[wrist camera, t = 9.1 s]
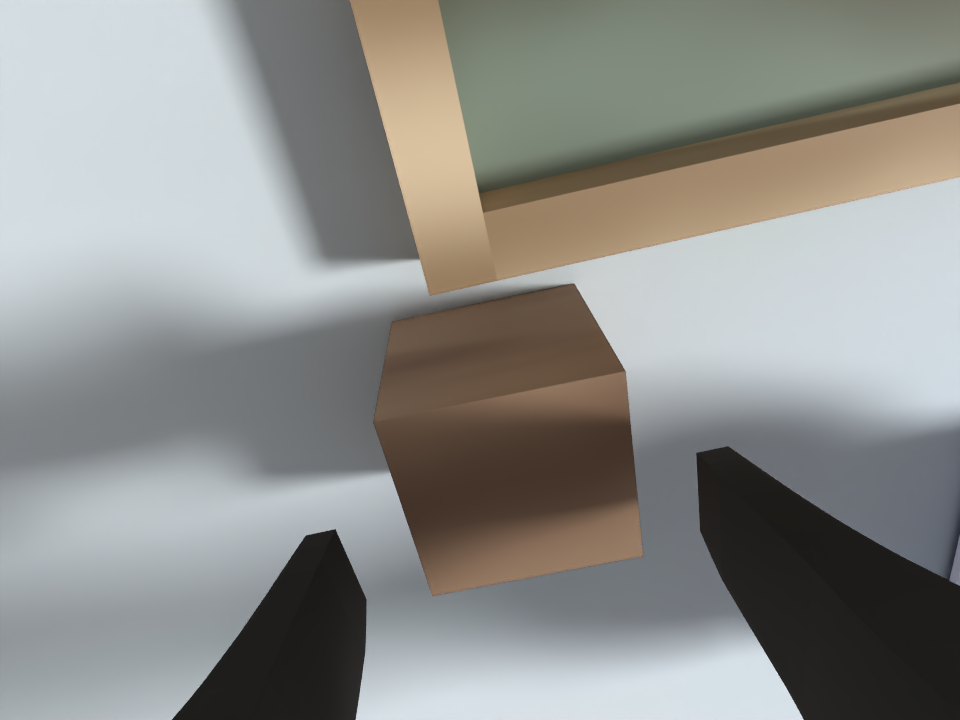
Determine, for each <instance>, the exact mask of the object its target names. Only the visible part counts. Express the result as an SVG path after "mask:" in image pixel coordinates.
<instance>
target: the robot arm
mask: <svg viewBox="0 0 960 720" xmlns="http://www.w3.org/2000/svg"><path fill="white" fill-rule="evenodd" d="M696 454H697V474H698V495H699V515H700V531H701V534H702V536H703V538H704V541H705V543H706V545H707V547H708V550H709V552H710V554H711V557H712V559H713V561H714V563H715V565H716V568H717V570H718V572H719V574H720V576H721V578H722V580H723V582H724V584H725V585H726V587H727V589H728V591H729V592H730V594H731V596H732V597H733V599H734V601H735V602H736V604H737V606H738V608H739V609H740V611H741V613H742V614H743V616H744V618H745V619H746V621H747V623H748V624H749V626H750V628H751V629H752V631H753V633H754V634H755V636H756V638H757V639H758V641H759V643H760V644H761V646H762V648H763V649H764V651H765V653H766V654H767V656H768V658H769V659H770V661H771V663H772V664H773V666H774V668H775V669H776V671H777V673H778V674H779V676H780V678H781V679H782V681H783V683H784V684H785V686H786V688H787V690H788V691H789V693H790V695H791V697H792V699H793V700H794V702H795V704H796V706H797V708H798V710H799V711H800V713H801V715H802V717H803V719H804V720H960V536H959V541H958V545H957V550H956V554H955V558H954V563H953V567H952V571H951V576H950V580H947V579H945V578H943V577H941V576H939V575H937V574H935V573H933V572H931V571H929V570H927V569H925V568H923V567H921V566H919V565H917V564H915V563H913V562H911V561H909V560H907V559H905V558H903V557H901V556H900V555H898V554H896V553H894V552H892V551H890V550H888V549H887V548H885V547H883V546H881V545H879V544H878V543H876V542H874V541H873V540H871V539H869V538H867V537H866V536H864V535H862V534H860V533H859V532H857V531H855V530H853V529H852V528H850V527H848V526H847V525H845V524H843V523H842V522H840V521H839V520H837V519H835V518H834V517H832V516H831V515H829V514H827V513H826V512H824V511H823V510H821V509H820V508H818V507H817V506H815V505H813V504H812V503H810V502H809V501H807V500H806V499H804V498H802V497H801V496H799V495H798V494H796V493H795V492H793V491H792V490H791V489H789V488H788V487H786V486H785V485H783V484H782V483H780V482H779V481H777V480H776V479H774V478H773V477H771V476H770V475H769V474H767V473H766V472H764V471H763V470H761V469H760V468H759V467H757V466H756V465H754V464H753V463H751V462H750V461H749V460H747V459H746V458H744V457H743V456H741V455H740V454H738V453H737V452H735V451H734V450H732V449H731V448H730V447H723V448H718V449H713V450H709V451H704V452H699V453H696ZM365 644H366V597H365V595H364V593H363V591H362V588H361V586H360V584H359V582H358V579H357V577H356V575H355V573H354V570H353V568H352V566H351V563H350V561H349V559H348V557H347V554H346V552H345V550H344V548H343V545H342V543H341V541H340V539H339V536H338V534H337V532H336V529H335V530H330V531H326V532H321V533H316V534H311V535H307V536H305V538H304V539H303V541H302V542H301V544H300V545H299V546H298V548H297V549H296V551H295V552H294V554H293V555H292V557H291V558H290V560H289V561H288V563H287V564H286V566H285V567H284V569H283V570H282V572H281V573H280V575H279V576H278V578H277V579H276V581H275V583H274V584H273V586H272V587H271V589H270V590H269V592H268V593H267V595H266V596H265V598H264V599H263V600H262V602H261V603H260V605H259V606H258V608H257V609H256V611H255V612H254V614H253V615H252V616H251V618H250V619H249V621H248V622H247V624H246V625H245V627H244V628H243V629H242V631H241V632H240V634H239V635H238V636H237V638H236V639H235V641H234V642H233V643H232V645H231V646H230V647H229V649H228V650H227V651H226V653H225V654H224V655H223V657H222V658H221V659H220V661H219V662H218V663H217V665H216V666H215V667H214V669H213V670H212V671H211V673H210V674H209V675H208V677H207V678H206V679H205V681H204V682H203V683H202V684H201V686H200V687H199V688H198V689H197V691H196V692H195V693H194V694H193V695H192V697H191V698H190V699H189V700H188V701H187V703H186V704H185V705H184V706H183V708H182V709H181V710H180V711H179V712H178V713H177V714H176V716H175V717H174V718H173V719H172V720H356V713H357V706H358V700H359V693H360V686H361V679H362V672H363V664H364V657H365Z"/></svg>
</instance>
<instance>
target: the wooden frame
mask: <svg viewBox="0 0 960 720" xmlns="http://www.w3.org/2000/svg"><path fill="white" fill-rule="evenodd" d="M350 3H351V7H352V11H353V14H354V18H355V22H356V25H357V29H358V33H359V36H360V40H361V44H362V48H363V51H364V55H365V59H366V62H367V66H368V70H369V73H370V77H371V81H372V84H373V88H374V92H375V95H376V99H377V103H378V107H379V110H380V114H381V118H382V121H383V125H384V129H385V132H386V136H387V140H388V143H389V147H390V151H391V154H392V158H393V162H394V166H395V169H396V173H397V177H398V180H399V184H400V188H401V191H402V195H403V199H404V202H405V206H406V210H407V213H408V217H409V221H410V225H411V228H412V232H413V236H414V239H415V243H416V247H417V250H418V254H419V258H420V261H421V265H422V269H423V272H424V276H425V280H426V283H427V287H428V291H429V295H430V296H431V295H435V294H440V293H444V292H449V291H453V290H458V289H462V288H467V287H471V286H476V285H480V284H485V283H489V282H494V281H498V280H502V279H507V278H511V277H516V276H520V275H525V274H529V273H534V272H538V271H543V270H547V269H552V268H556V267H560V266H565V265H569V264H574V263H578V262H583V261H587V260H592V259H596V258H601V257H605V256H610V255H614V254H619V253H623V252H627V251H632V250H636V249H641V248H645V247H650V246H654V245H659V244H663V243H668V242H672V241H677V240H681V239H685V238H690V237H694V236H699V235H703V234H708V233H712V232H717V231H721V230H726V229H730V228H735V227H739V226H744V225H748V224H752V223H757V222H761V221H766V220H770V219H775V218H779V217H784V216H788V215H793V214H797V213H802V212H806V211H811V210H815V209H819V208H824V207H828V206H833V205H837V204H842V203H846V202H851V201H855V200H860V199H864V198H869V197H873V196H877V195H882V194H886V193H891V192H895V191H900V190H904V189H909V188H913V187H918V186H922V185H927V184H931V183H936V182H940V181H944V180H949V179H953V178H958V177H960V0H350Z"/></svg>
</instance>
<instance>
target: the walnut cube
mask: <svg viewBox="0 0 960 720" xmlns="http://www.w3.org/2000/svg"><path fill="white" fill-rule="evenodd" d="M373 423H374V426H375V429H376V431H377V434H378V437H379V440H380V443H381V446H382V449H383V452H384V455H385V458H386V461H387V464H388V467H389V470H390V473H391V476H392V478H393V481H394V484H395V487H396V490H397V493H398V496H399V499H400V502H401V505H402V508H403V511H404V514H405V517H406V520H407V523H408V526H409V528H410V531H411V534H412V537H413V540H414V543H415V546H416V549H417V552H418V555H419V558H420V561H421V564H422V567H423V570H424V573H425V575H426V578H427V581H428V584H429V587H430V590H431V593H432V596H435V595H440V594H446V593H451V592H456V591H462V590H467V589H472V588H477V587H483V586H488V585H493V584H499V583H504V582H509V581H514V580H520V579H525V578H530V577H536V576H541V575H546V574H552V573H557V572H562V571H567V570H573V569H578V568H583V567H589V566H594V565H599V564H604V563H610V562H615V561H620V560H626V559H631V558H636V557H642V556H643V551H642V540H641V529H640V519H639V508H638V498H637V487H636V477H635V466H634V456H633V445H632V435H631V424H630V414H629V403H628V392H627V382H626V371H625V370H624V368H623V366H622V364H621V363H620V361H619V359H618V358H617V356H616V354H615V352H614V351H613V349H612V347H611V346H610V344H609V342H608V340H607V339H606V337H605V335H604V334H603V332H602V330H601V328H600V327H599V325H598V323H597V322H596V320H595V318H594V317H593V315H592V313H591V311H590V310H589V308H588V306H587V305H586V303H585V301H584V299H583V298H582V296H581V294H580V293H579V291H578V289H577V287H576V286H575V284H570V285H565V286H560V287H555V288H551V289H546V290H541V291H536V292H532V293H527V294H522V295H517V296H512V297H508V298H503V299H498V300H493V301H489V302H484V303H479V304H474V305H469V306H465V307H460V308H455V309H450V310H445V311H441V312H436V313H431V314H426V315H422V316H417V317H412V318H407V319H402V320H398V321H393V322H392V324H391V329H390V335H389V340H388V345H387V351H386V356H385V362H384V367H383V372H382V378H381V383H380V388H379V394H378V399H377V405H376V410H375V415H374V421H373Z"/></svg>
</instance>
